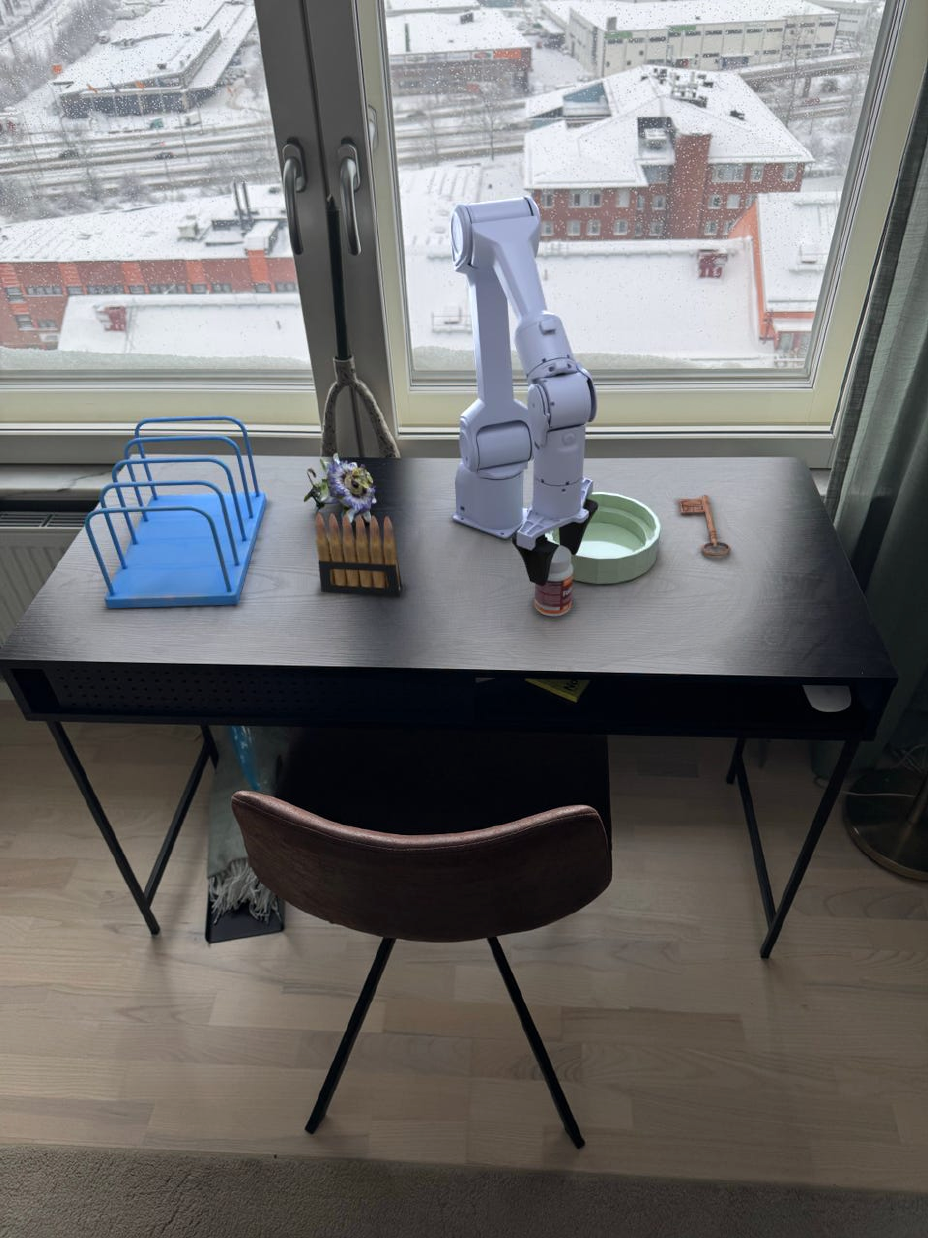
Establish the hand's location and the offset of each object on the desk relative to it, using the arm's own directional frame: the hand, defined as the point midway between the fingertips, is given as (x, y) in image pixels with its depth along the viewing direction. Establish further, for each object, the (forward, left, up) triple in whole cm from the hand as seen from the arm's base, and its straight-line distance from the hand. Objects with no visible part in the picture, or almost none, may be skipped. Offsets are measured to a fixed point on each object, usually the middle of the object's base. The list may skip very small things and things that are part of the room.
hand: (553, 566), depth 117 cm
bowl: (-1, +14, -6) cm, 15 cm away
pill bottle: (0, 0, -7) cm, 7 cm away
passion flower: (-37, +1, -7) cm, 37 cm away
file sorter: (-49, -18, -7) cm, 52 cm away
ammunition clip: (-23, -11, -7) cm, 26 cm away
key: (+9, +27, -6) cm, 29 cm away
